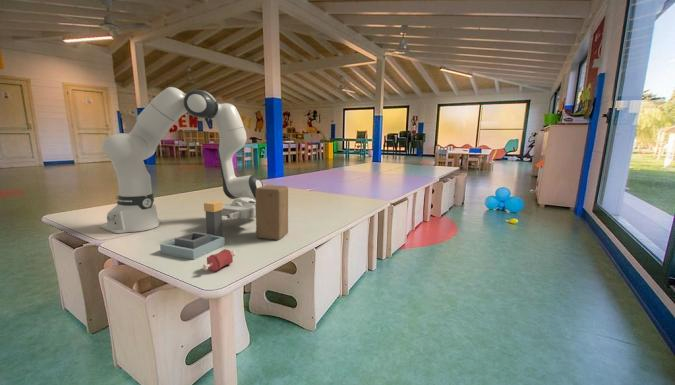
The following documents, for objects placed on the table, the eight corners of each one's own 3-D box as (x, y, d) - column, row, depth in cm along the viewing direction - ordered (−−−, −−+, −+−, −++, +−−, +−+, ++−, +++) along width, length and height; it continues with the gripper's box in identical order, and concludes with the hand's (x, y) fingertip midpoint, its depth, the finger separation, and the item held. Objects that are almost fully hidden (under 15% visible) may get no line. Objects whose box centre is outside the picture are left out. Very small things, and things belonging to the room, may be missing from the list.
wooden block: (279, 241, 108) (279, 189, 104) (255, 238, 109) (254, 188, 106) (289, 233, 117) (288, 185, 114) (266, 231, 119) (266, 184, 116)
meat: (212, 275, 77) (207, 258, 77) (199, 276, 79) (195, 260, 79) (242, 259, 88) (238, 244, 88) (230, 261, 90) (226, 246, 90)
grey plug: (205, 238, 108) (203, 203, 105) (214, 235, 112) (212, 200, 110) (215, 240, 106) (213, 204, 104) (223, 236, 111) (222, 202, 108)
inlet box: (160, 253, 93) (159, 240, 92) (194, 239, 106) (193, 228, 105) (193, 259, 89) (192, 246, 88) (224, 245, 102) (224, 233, 101)
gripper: (221, 198, 126) (197, 204, 113) (261, 203, 120) (240, 209, 107) (222, 212, 127) (198, 219, 114) (261, 217, 121) (240, 225, 108)
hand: (218, 215), depth 110 cm, fingers open, 8 cm apart
